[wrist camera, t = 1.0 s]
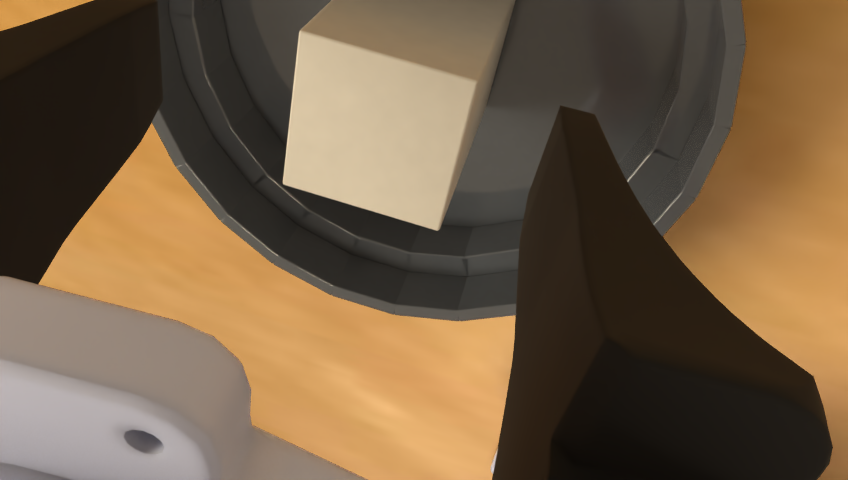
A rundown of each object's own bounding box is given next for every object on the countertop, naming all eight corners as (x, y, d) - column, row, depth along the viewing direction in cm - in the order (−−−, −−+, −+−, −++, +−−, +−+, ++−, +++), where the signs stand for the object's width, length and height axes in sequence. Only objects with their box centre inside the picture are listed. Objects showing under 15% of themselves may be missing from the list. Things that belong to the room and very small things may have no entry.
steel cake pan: (610, 302, 31) (607, 381, 27) (185, 174, 32) (128, 233, 28) (844, -207, 20) (889, -188, 17) (196, -372, 21) (107, -388, 18)
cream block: (486, 107, 27) (439, 232, 21) (365, 72, 27) (281, 185, 21) (519, -17, 24) (478, 81, 18) (386, -54, 25) (298, 30, 18)
